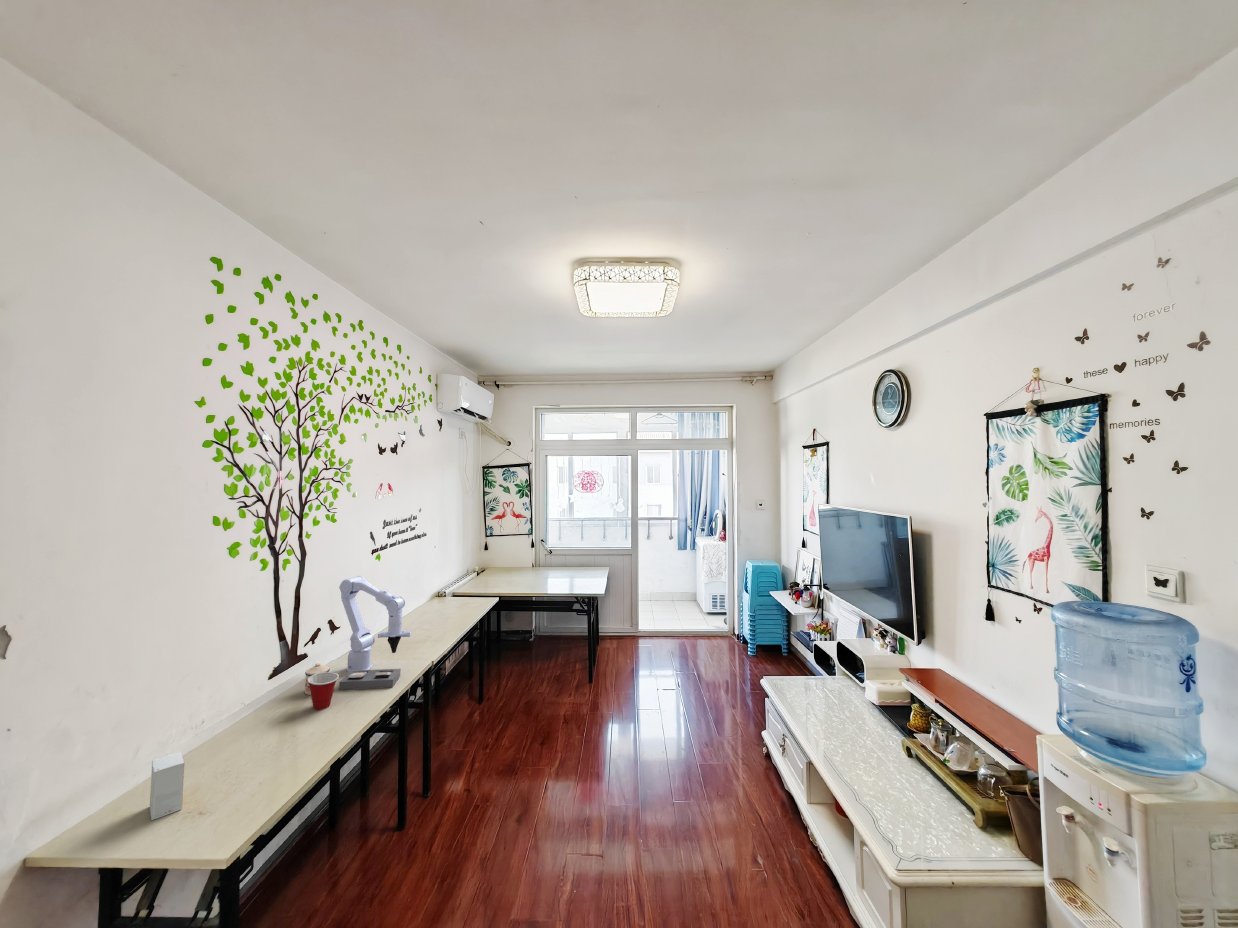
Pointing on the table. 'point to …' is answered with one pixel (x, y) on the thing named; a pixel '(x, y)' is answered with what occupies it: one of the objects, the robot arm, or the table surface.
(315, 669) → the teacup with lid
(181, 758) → the small box
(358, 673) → the rocker left
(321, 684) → the plastic cup
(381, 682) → the grey flat block
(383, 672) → the rocker right
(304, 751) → the table surface
